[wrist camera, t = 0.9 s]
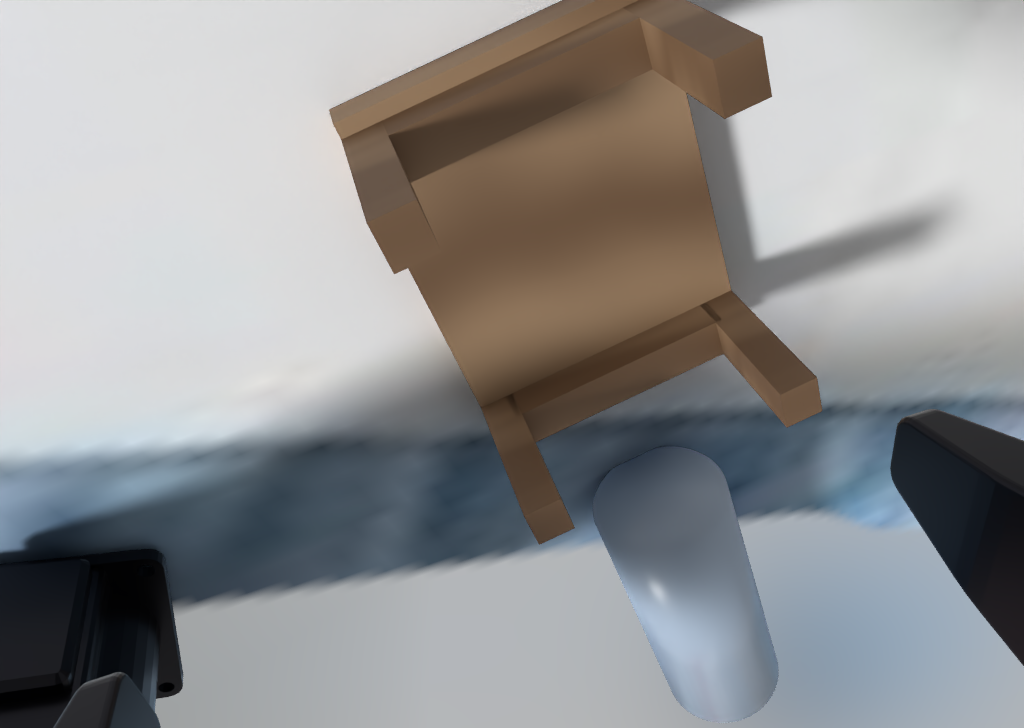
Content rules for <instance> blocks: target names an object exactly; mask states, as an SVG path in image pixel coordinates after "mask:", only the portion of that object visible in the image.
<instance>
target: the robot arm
mask: <svg viewBox="0 0 1024 728" xmlns="http://www.w3.org/2000/svg"><path fill="white" fill-rule="evenodd" d="M890 469H891V476H892V480H893V482H894V484H895V486H896V488H897V490H898V492H899V493H900V495H901V496H902V498H903V499H904V501H905V502H906V504H907V505H908V507H909V508H910V510H911V512H912V513H913V515H914V516H915V518H916V519H917V521H918V522H919V524H920V525H921V527H922V528H923V530H924V531H925V533H926V534H927V536H928V538H929V539H930V541H931V542H932V544H933V545H934V547H935V548H936V550H937V551H938V553H939V554H940V556H941V557H942V559H943V561H944V562H945V564H946V565H947V567H948V568H949V570H950V571H951V573H952V574H953V576H954V577H955V579H956V580H957V582H958V583H959V584H960V586H961V587H962V589H963V590H964V592H965V593H966V594H967V596H968V597H969V598H970V600H971V601H972V602H973V604H974V605H975V606H976V607H977V609H978V610H979V611H980V613H981V614H982V615H983V616H984V617H985V618H986V620H987V621H988V622H989V624H990V625H991V626H992V627H993V628H994V630H995V631H996V632H997V634H998V635H999V636H1000V637H1001V638H1002V639H1003V641H1004V642H1005V643H1006V645H1007V646H1008V647H1009V648H1010V650H1011V651H1012V652H1013V653H1014V655H1015V656H1016V657H1017V658H1018V660H1019V661H1020V662H1021V663H1022V664H1023V666H1024V441H1023V440H1020V439H1017V438H1015V437H1012V436H1009V435H1006V434H1004V433H1001V432H998V431H995V430H993V429H990V428H987V427H985V426H982V425H979V424H976V423H974V422H971V421H968V420H965V419H963V418H960V417H957V416H955V415H952V414H949V413H946V412H944V411H940V410H936V409H929V410H925V411H922V412H919V413H915V414H912V415H909V416H906V417H904V418H902V419H901V420H900V422H899V423H898V425H897V429H896V435H895V441H894V447H893V454H892V460H891V468H890ZM142 565H151V566H150V567H143V566H142ZM182 686H183V670H182V664H181V657H180V651H179V645H178V638H177V633H176V626H175V620H174V613H173V606H172V600H171V594H170V587H169V581H168V575H167V568H166V562H165V558H164V556H163V554H162V553H160V552H159V551H156V550H153V549H141V550H131V551H122V552H113V553H103V554H94V555H85V556H75V557H66V558H57V559H47V560H38V561H29V562H19V563H10V564H1V565H0V728H160V723H159V720H158V718H157V715H156V713H155V702H156V699H157V698H163V697H169V696H172V695H175V694H177V693H179V692H180V691H181V689H182Z"/></svg>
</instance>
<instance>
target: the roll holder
mask: <svg viewBox="0 0 1024 728" xmlns="http://www.w3.org/2000/svg"><path fill="white" fill-rule="evenodd" d="M686 93H688V94H689V95H691V96H692V97H694V98H695V99H697V100H698V101H699V102H701V103H702V104H704V105H705V106H707V107H708V108H710V109H711V110H713V111H714V112H716V113H717V114H719V115H720V116H721V117H723V118H724V119H726V118H728V117H730V116H732V115H734V114H736V113H738V112H740V111H743V110H745V109H747V108H749V107H751V106H753V105H755V104H757V103H760V102H762V101H764V100H766V99H768V98H770V97H772V94H771V88H770V81H769V75H768V69H767V63H766V56H765V50H764V44H763V38H762V36H760V35H757V34H755V33H753V32H751V31H749V30H747V29H745V28H743V27H741V26H739V25H737V24H735V23H732V22H730V21H728V20H726V19H724V18H722V17H720V16H718V15H716V14H714V13H712V12H709V11H707V10H705V9H703V8H701V7H699V6H697V5H695V4H693V3H691V2H689V1H687V0H562V1H560V2H558V3H556V4H554V5H552V6H550V7H547V8H545V9H543V10H541V11H539V12H537V13H535V14H532V15H530V16H528V17H526V18H524V19H522V20H520V21H518V22H515V23H513V24H511V25H509V26H507V27H505V28H503V29H500V30H498V31H496V32H494V33H492V34H490V35H488V36H486V37H483V38H481V39H479V40H477V41H475V42H473V43H471V44H468V45H466V46H464V47H462V48H460V49H458V50H456V51H454V52H451V53H449V54H447V55H445V56H443V57H441V58H439V59H436V60H434V61H432V62H430V63H428V64H426V65H424V66H422V67H419V68H417V69H415V70H413V71H411V72H409V73H407V74H404V75H402V76H400V77H398V78H396V79H394V80H392V81H390V82H387V83H385V84H383V85H381V86H379V87H377V88H375V89H372V90H370V91H368V92H366V93H364V94H362V95H360V96H358V97H355V98H353V99H351V100H349V101H347V102H345V103H343V104H340V105H338V106H336V107H334V108H332V109H330V110H329V111H330V115H331V118H332V122H333V125H334V126H335V128H336V130H337V132H338V134H339V136H340V138H341V140H342V143H343V147H344V150H345V153H346V156H347V160H348V163H349V166H350V170H351V173H352V176H353V179H354V183H355V186H356V189H357V193H358V196H359V199H360V202H361V206H362V209H363V212H364V216H365V219H366V222H367V224H368V226H369V228H370V230H371V232H372V234H373V235H374V237H375V239H376V241H377V243H378V245H379V247H380V249H381V250H382V252H383V254H384V256H385V258H386V260H387V262H388V263H389V265H390V267H391V269H392V271H393V273H394V274H396V273H398V272H400V271H402V270H404V269H407V268H408V269H409V271H410V272H411V274H412V276H413V278H414V280H415V282H416V284H417V286H418V288H419V290H420V292H421V294H422V296H423V297H424V299H425V301H426V303H427V305H428V307H429V309H430V311H431V313H432V315H433V317H434V319H435V321H436V322H437V324H438V326H439V328H440V330H441V332H442V334H443V336H444V338H445V340H446V342H447V344H448V345H449V347H450V349H451V351H452V353H453V355H454V357H455V359H456V361H457V363H458V365H459V367H460V369H461V370H462V372H463V374H464V376H465V378H466V380H467V382H468V384H469V386H470V388H471V390H472V392H473V394H474V395H475V397H476V399H477V401H478V403H479V405H480V407H481V409H482V412H483V414H484V417H485V419H486V422H487V424H488V427H489V429H490V432H491V434H492V437H493V439H494V442H495V444H496V447H497V449H498V452H499V454H500V457H501V459H502V462H503V465H504V467H505V470H506V472H507V475H508V477H509V480H510V482H511V485H512V487H513V490H514V492H515V495H516V497H517V500H518V502H519V505H520V507H521V510H522V512H523V515H524V517H525V519H526V521H527V523H528V525H529V526H530V528H531V530H532V532H533V534H534V536H535V538H536V539H537V541H538V543H539V545H540V544H542V543H544V542H546V541H548V540H550V539H552V538H555V537H557V536H559V535H561V534H563V533H565V532H567V531H569V530H571V529H574V528H575V527H574V525H573V523H572V521H571V519H570V516H569V514H568V512H567V510H566V508H565V506H564V503H563V501H562V499H561V497H560V495H559V493H558V490H557V488H556V486H555V484H554V482H553V479H552V477H551V475H550V473H549V471H548V469H547V466H546V464H545V462H544V460H543V458H542V455H541V453H540V451H539V449H538V447H537V445H536V442H538V441H540V440H542V439H544V438H546V437H548V436H550V435H552V434H555V433H557V432H559V431H561V430H563V429H565V428H567V427H569V426H571V425H574V424H576V423H578V422H580V421H582V420H584V419H586V418H588V417H591V416H593V415H595V414H597V413H599V412H601V411H603V410H605V409H607V408H610V407H612V406H614V405H616V404H618V403H620V402H622V401H624V400H627V399H629V398H631V397H633V396H635V395H637V394H639V393H641V392H643V391H646V390H648V389H650V388H652V387H654V386H656V385H658V384H660V383H663V382H665V381H667V380H669V379H671V378H673V377H675V376H677V375H680V374H682V373H684V372H686V371H688V370H690V369H692V368H694V367H696V366H699V365H701V364H703V363H705V362H707V361H709V360H711V359H713V358H716V357H718V356H720V355H722V354H724V355H725V356H726V357H727V358H728V360H729V361H730V362H731V363H732V364H733V365H734V367H735V368H736V369H737V370H738V371H739V372H740V374H741V375H742V376H743V377H744V378H745V379H746V381H747V382H748V383H749V384H750V385H751V386H752V387H753V389H754V390H755V391H756V392H757V393H758V394H759V396H760V397H761V398H762V399H763V400H764V401H765V403H766V404H767V405H768V406H769V407H770V408H771V410H772V411H773V412H774V413H775V414H776V415H777V417H778V418H779V419H780V420H781V421H782V422H783V424H784V425H785V426H786V427H789V426H791V425H794V424H796V423H798V422H800V421H802V420H804V419H806V418H808V417H810V416H813V415H815V414H817V413H819V412H821V411H822V406H821V400H820V393H819V387H818V381H817V377H816V376H815V375H814V374H813V373H812V372H811V371H810V370H809V369H808V368H807V367H806V366H805V365H804V364H803V363H802V362H801V361H800V360H799V359H798V358H797V357H796V356H795V355H794V354H793V353H792V352H791V351H790V350H789V349H788V348H787V347H786V346H785V345H784V344H783V343H782V342H781V341H780V340H779V338H778V337H777V336H776V335H775V334H774V333H773V332H772V331H771V330H770V329H769V328H768V327H767V326H766V325H765V324H764V323H763V322H762V321H761V320H760V319H759V318H758V317H757V316H756V315H755V314H754V313H753V312H752V311H751V310H750V309H749V308H748V307H747V306H746V305H745V304H744V303H743V302H742V301H741V300H740V299H739V298H738V297H737V296H736V295H735V294H734V293H733V292H732V291H731V287H730V283H729V279H728V274H727V270H726V266H725V261H724V257H723V252H722V248H721V244H720V239H719V235H718V230H717V226H716V222H715V217H714V213H713V208H712V204H711V200H710V195H709V191H708V186H707V182H706V178H705V173H704V169H703V165H702V160H701V156H700V151H699V147H698V143H697V138H696V134H695V129H694V125H693V121H692V116H691V112H690V107H689V103H688V99H687V94H686Z"/></svg>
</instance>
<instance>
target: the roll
mask: <svg viewBox="0 0 1024 728" xmlns="http://www.w3.org/2000/svg"><path fill="white" fill-rule="evenodd" d="M593 517H594V521H595V524H596V526H597V528H598V531H599V533H600V535H601V537H602V539H603V542H604V544H605V546H606V548H607V550H608V553H609V555H610V557H611V559H612V561H613V563H614V565H615V568H616V570H617V572H618V575H619V577H620V579H621V581H622V583H623V585H624V588H625V590H626V592H627V594H628V597H629V599H630V601H631V603H632V605H633V608H634V610H635V612H636V614H637V616H638V619H639V621H640V623H641V625H642V627H643V629H644V632H645V634H646V636H647V638H648V640H649V643H650V645H651V647H652V649H653V651H654V654H655V656H656V658H657V660H658V662H659V665H660V667H661V669H662V671H663V673H664V675H665V678H666V680H667V682H668V684H669V686H670V689H671V691H672V693H673V695H674V697H675V698H676V700H677V701H678V702H679V703H680V705H681V706H682V707H683V708H684V709H686V710H687V711H688V712H690V713H691V714H692V715H694V716H697V717H698V718H701V719H703V720H706V721H711V722H718V723H729V722H735V721H739V720H742V719H745V718H747V717H750V716H751V715H753V714H754V713H756V712H758V711H759V710H760V709H761V708H762V707H763V706H764V705H765V704H766V703H767V702H768V701H769V699H770V698H771V696H772V694H773V692H774V690H775V688H776V685H777V681H778V662H777V658H776V654H775V651H774V647H773V644H772V640H771V636H770V633H769V629H768V626H767V623H766V619H765V615H764V612H763V608H762V605H761V601H760V598H759V594H758V591H757V587H756V583H755V580H754V576H753V573H752V569H751V566H750V562H749V559H748V555H747V552H746V548H745V545H744V541H743V537H742V534H741V530H740V527H739V523H738V520H737V516H736V513H735V509H734V506H733V502H732V499H731V495H730V492H729V488H728V484H727V481H726V478H725V476H724V474H723V472H722V471H721V469H720V468H719V466H718V465H717V464H716V463H715V462H714V461H712V460H711V459H710V458H709V457H707V456H705V455H704V454H702V453H700V452H697V451H695V450H691V449H688V448H682V447H672V446H670V447H658V448H655V449H652V450H650V451H648V452H646V453H644V454H642V455H640V456H638V457H636V458H633V459H631V460H629V461H627V462H625V463H623V464H621V465H619V466H617V467H614V468H613V469H612V470H611V471H610V472H609V473H608V474H607V475H606V476H605V477H604V479H603V480H602V482H601V483H600V485H599V487H598V489H597V491H596V494H595V497H594V502H593Z"/></svg>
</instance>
